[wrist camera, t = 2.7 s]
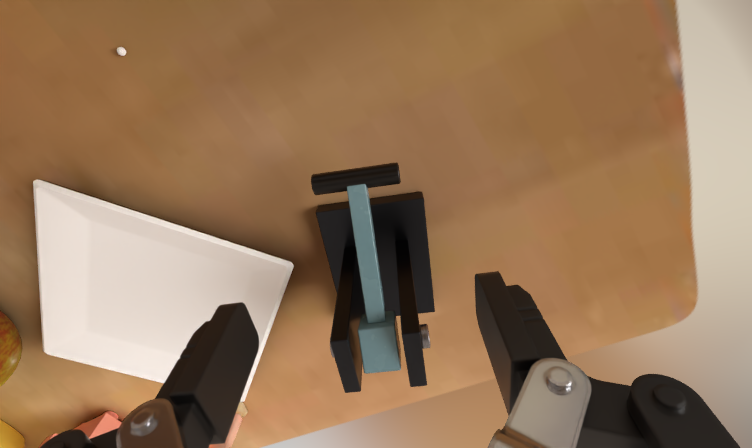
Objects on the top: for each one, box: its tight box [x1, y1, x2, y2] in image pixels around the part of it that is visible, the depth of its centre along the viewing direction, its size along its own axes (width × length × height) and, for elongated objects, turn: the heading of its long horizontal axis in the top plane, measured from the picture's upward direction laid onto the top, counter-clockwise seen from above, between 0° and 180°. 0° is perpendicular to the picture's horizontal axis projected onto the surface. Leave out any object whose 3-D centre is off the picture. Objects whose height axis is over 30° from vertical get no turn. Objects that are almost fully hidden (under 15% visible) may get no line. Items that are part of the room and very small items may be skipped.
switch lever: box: [311, 163, 401, 373], centre depth 22 cm, size 12×5×2 cm, turn 9°
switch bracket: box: [316, 192, 435, 393], centre depth 26 cm, size 11×8×11 cm
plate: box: [33, 179, 294, 402], centre depth 32 cm, size 19×19×2 cm
